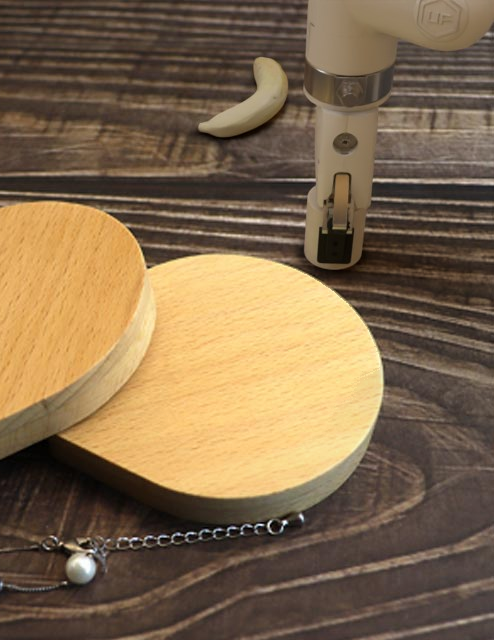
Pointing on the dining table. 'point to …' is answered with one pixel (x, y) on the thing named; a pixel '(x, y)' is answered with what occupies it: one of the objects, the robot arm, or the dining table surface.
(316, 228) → the paper roll
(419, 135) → the dining table surface
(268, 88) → the fruit
